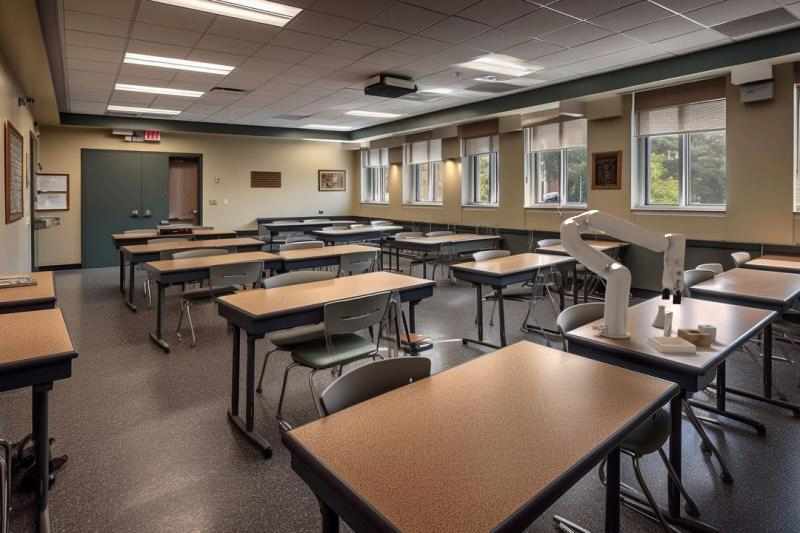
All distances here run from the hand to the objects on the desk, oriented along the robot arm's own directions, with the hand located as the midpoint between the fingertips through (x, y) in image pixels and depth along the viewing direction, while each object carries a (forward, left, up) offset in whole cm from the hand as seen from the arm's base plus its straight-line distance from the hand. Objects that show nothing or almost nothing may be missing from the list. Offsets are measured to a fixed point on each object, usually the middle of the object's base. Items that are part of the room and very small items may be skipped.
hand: (671, 301), depth 209 cm
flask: (+7, +22, -17) cm, 28 cm away
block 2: (+17, +1, -17) cm, 24 cm away
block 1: (+8, -6, -17) cm, 19 cm away
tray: (-5, -14, -17) cm, 22 cm away
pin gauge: (0, 0, -17) cm, 17 cm away
